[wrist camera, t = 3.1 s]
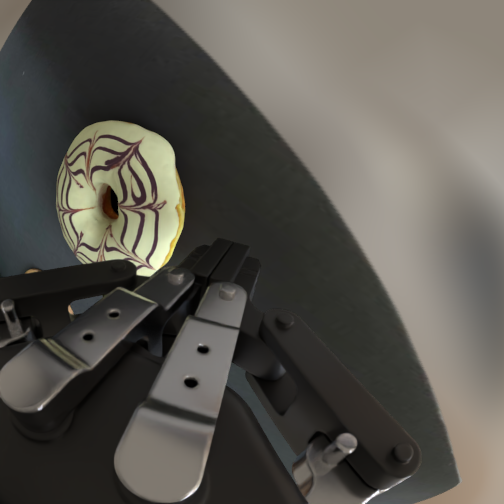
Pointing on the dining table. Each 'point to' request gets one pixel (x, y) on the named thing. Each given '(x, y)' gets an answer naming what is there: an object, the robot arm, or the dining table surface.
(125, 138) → the decorated donut
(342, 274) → the dining table surface
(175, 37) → the dining table surface
